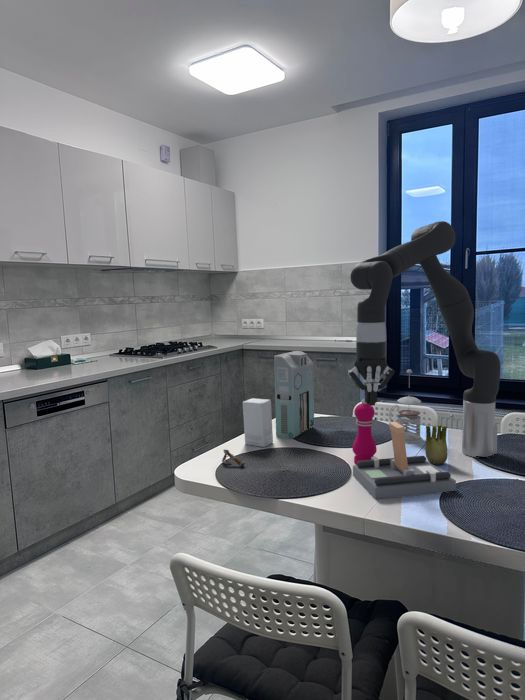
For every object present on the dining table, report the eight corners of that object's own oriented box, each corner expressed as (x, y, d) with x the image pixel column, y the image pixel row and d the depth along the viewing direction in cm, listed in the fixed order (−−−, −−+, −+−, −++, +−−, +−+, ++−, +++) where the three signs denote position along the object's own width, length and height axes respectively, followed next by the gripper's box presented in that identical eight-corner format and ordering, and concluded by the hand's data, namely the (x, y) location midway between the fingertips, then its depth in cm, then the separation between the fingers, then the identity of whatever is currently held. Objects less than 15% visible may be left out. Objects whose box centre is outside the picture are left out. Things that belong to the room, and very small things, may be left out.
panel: (424, 469, 136) (424, 452, 136) (455, 491, 120) (456, 472, 120) (352, 475, 133) (352, 458, 132) (375, 499, 117) (375, 479, 116)
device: (293, 439, 168) (292, 356, 165) (275, 436, 172) (274, 355, 169) (314, 427, 182) (313, 351, 178) (297, 425, 186) (295, 350, 183)
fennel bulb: (423, 463, 141) (424, 424, 140) (430, 458, 145) (431, 421, 143) (442, 467, 137) (443, 428, 136) (449, 463, 141) (450, 424, 140)
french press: (427, 443, 160) (428, 371, 157) (393, 443, 160) (394, 372, 157) (418, 434, 170) (419, 367, 167) (386, 435, 170) (386, 367, 167)
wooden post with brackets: (222, 458, 147) (226, 446, 145) (241, 472, 143) (245, 461, 142) (218, 460, 145) (222, 448, 144) (237, 474, 142) (242, 462, 140)
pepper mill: (377, 467, 138) (377, 401, 136) (352, 466, 140) (352, 401, 138) (376, 459, 145) (376, 396, 143) (352, 458, 147) (352, 396, 145)
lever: (400, 466, 129) (394, 421, 128) (410, 474, 123) (404, 427, 122) (394, 467, 129) (388, 422, 127) (404, 476, 123) (398, 428, 121)
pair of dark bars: (423, 460, 135) (423, 452, 135) (452, 480, 120) (453, 471, 120) (355, 465, 132) (355, 458, 132) (376, 487, 117) (376, 478, 117)
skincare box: (273, 442, 164) (272, 399, 162) (263, 448, 159) (262, 403, 157) (253, 439, 169) (252, 397, 167) (243, 444, 163) (242, 401, 161)
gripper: (388, 337, 125) (388, 400, 127) (341, 339, 123) (342, 403, 125) (401, 340, 118) (400, 406, 120) (351, 341, 116) (351, 409, 118)
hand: (370, 404), depth 123 cm, fingers closed
